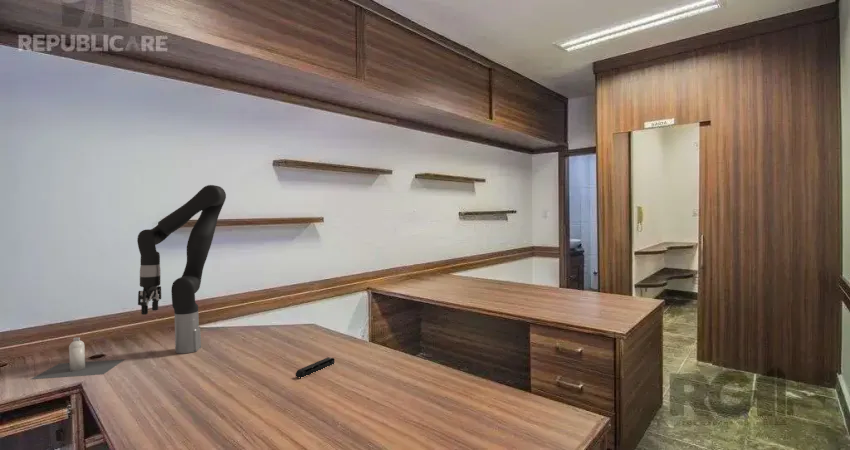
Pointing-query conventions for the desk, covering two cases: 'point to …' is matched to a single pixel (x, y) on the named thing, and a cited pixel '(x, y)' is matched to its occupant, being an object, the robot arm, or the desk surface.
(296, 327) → the desk surface
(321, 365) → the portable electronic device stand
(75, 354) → the white domed bottle
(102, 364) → the desk mat
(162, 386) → the desk surface
